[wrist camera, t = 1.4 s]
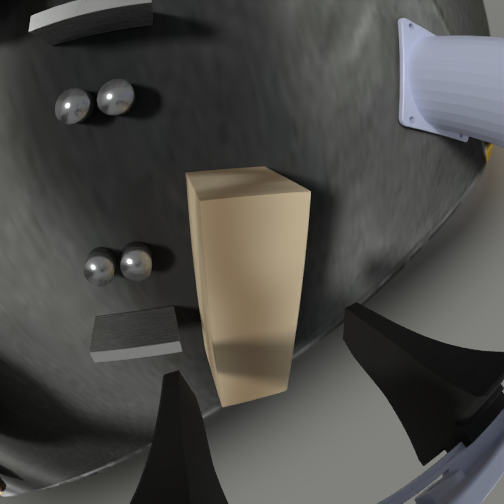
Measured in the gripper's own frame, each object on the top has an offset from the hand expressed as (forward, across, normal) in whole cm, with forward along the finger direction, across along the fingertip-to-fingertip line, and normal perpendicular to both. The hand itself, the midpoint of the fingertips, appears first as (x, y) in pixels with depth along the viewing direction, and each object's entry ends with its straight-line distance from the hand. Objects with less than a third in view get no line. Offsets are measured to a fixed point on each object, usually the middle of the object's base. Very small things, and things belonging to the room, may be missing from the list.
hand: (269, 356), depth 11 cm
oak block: (+7, 0, 0) cm, 7 cm away
